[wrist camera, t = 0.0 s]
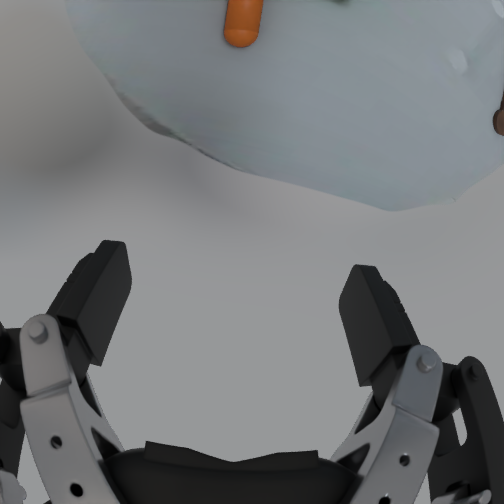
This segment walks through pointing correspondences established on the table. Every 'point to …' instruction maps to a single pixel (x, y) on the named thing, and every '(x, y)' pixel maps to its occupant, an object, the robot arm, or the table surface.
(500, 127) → the spoon
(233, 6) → the carrot
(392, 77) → the table surface
